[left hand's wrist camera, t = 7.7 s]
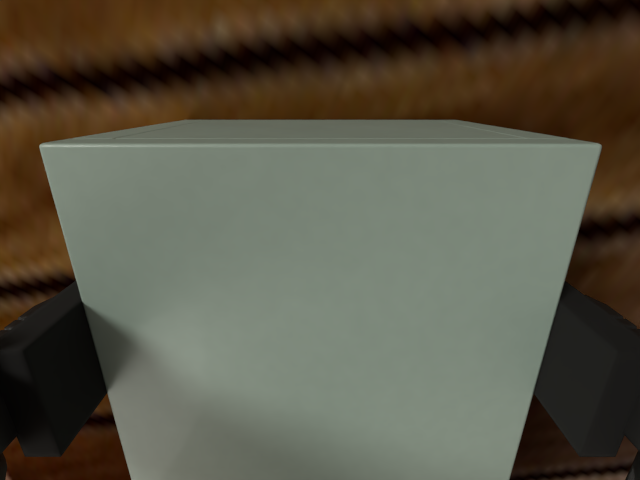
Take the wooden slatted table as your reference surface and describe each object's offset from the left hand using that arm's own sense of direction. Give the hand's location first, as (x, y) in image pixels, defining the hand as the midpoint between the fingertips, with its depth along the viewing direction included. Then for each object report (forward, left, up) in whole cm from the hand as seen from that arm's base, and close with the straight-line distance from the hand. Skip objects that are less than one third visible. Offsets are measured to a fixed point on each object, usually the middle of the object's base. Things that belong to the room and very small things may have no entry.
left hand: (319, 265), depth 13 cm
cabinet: (0, +3, -3) cm, 5 cm away
